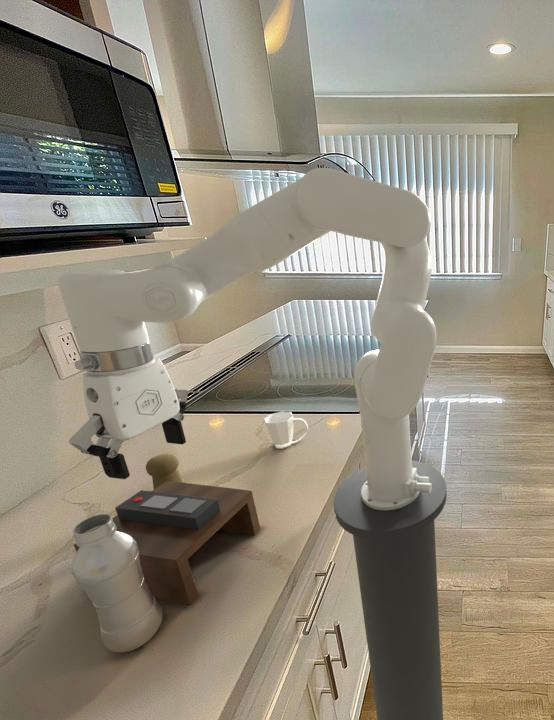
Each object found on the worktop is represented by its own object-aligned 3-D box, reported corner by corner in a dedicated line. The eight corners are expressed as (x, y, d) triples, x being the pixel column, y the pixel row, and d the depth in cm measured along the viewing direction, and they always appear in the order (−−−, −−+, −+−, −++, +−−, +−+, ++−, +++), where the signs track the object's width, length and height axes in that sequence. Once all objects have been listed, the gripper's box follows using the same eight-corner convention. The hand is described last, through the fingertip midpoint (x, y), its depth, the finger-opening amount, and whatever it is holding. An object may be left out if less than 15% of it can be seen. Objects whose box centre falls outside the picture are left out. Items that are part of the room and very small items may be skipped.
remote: (220, 510, 67) (217, 498, 67) (198, 530, 63) (194, 517, 62) (145, 501, 70) (141, 489, 69) (119, 519, 65) (114, 507, 65)
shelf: (260, 529, 76) (251, 490, 73) (190, 605, 61) (175, 560, 58) (178, 518, 78) (166, 480, 75) (92, 588, 63) (73, 544, 60)
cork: (162, 496, 84) (147, 452, 81) (195, 490, 86) (182, 446, 83) (151, 515, 79) (135, 468, 75) (187, 508, 81) (173, 462, 77)
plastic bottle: (170, 606, 60) (132, 499, 54) (161, 646, 55) (117, 532, 48) (116, 626, 57) (68, 515, 51) (100, 670, 52) (45, 552, 45)
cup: (272, 439, 106) (266, 412, 104) (311, 434, 109) (307, 408, 106) (266, 453, 100) (260, 425, 97) (308, 447, 103) (303, 420, 100)
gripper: (74, 381, 48) (114, 496, 54) (192, 341, 65) (213, 434, 70) (24, 376, 49) (68, 490, 55) (152, 339, 66) (176, 430, 71)
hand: (150, 458), depth 63 cm, fingers open, 9 cm apart
